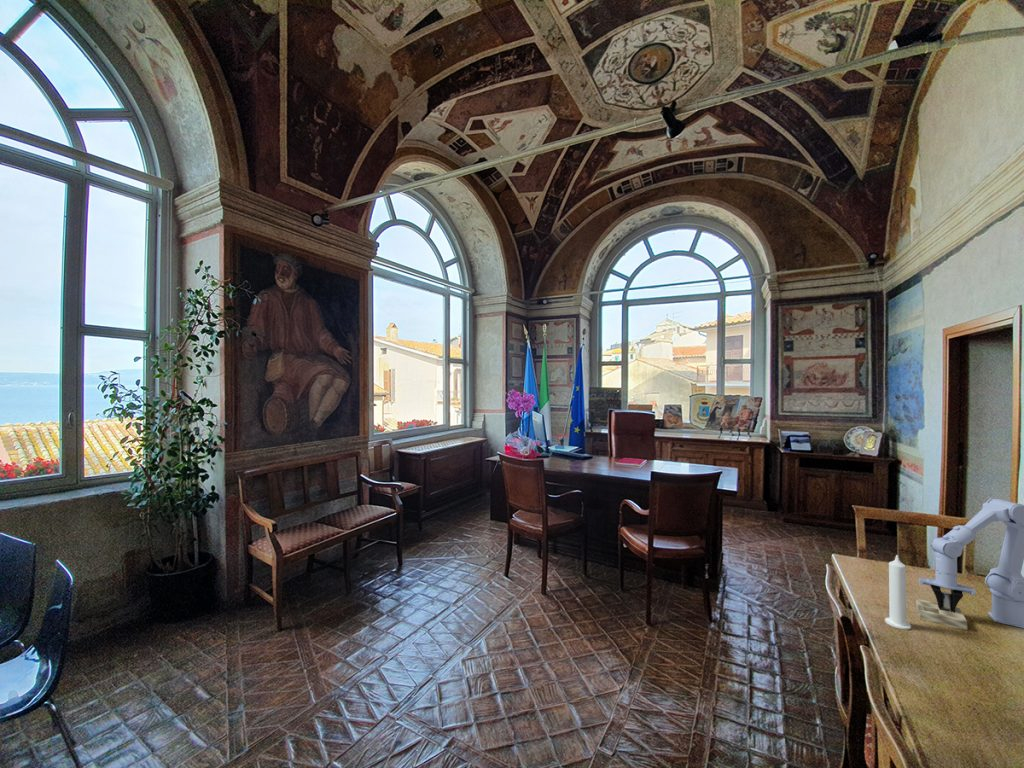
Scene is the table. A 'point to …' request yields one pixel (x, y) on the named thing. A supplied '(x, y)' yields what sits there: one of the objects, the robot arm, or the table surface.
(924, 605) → the socket block
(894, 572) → the candle
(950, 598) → the pin
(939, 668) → the table surface
